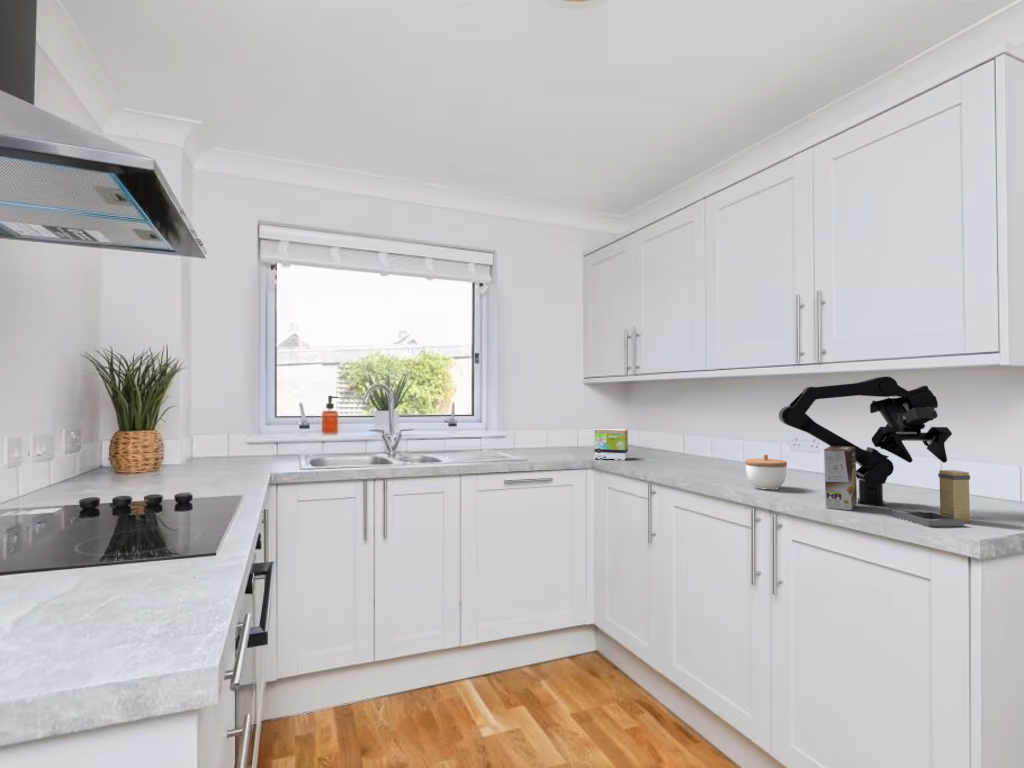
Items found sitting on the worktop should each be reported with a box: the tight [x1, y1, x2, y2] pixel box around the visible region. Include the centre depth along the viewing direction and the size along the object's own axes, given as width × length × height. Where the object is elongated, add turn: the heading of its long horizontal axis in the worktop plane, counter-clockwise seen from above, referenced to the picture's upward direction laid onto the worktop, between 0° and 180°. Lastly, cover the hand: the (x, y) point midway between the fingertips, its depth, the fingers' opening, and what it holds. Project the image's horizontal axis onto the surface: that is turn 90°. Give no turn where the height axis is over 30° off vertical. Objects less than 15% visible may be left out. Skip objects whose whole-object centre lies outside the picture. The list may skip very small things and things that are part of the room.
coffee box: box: [823, 446, 858, 511], centre depth 153 cm, size 9×6×16 cm
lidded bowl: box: [744, 454, 788, 489], centre depth 185 cm, size 13×13×11 cm
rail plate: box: [890, 509, 965, 528], centre depth 136 cm, size 12×8×2 cm
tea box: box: [593, 428, 629, 460], centre depth 271 cm, size 15×10×15 cm, turn 72°
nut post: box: [937, 469, 971, 523], centre depth 136 cm, size 4×4×12 cm
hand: (928, 461), depth 144 cm, fingers open, 9 cm apart
